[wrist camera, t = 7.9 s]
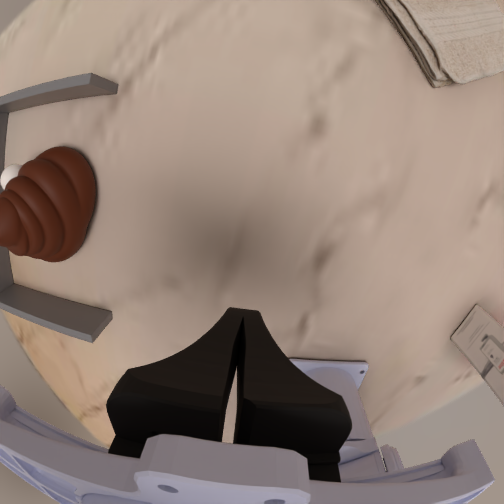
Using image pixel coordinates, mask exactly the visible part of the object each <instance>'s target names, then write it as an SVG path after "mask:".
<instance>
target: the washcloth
mask: <svg viewBox="0 0 504 504" xmlns="http://www.w3.org/2000/svg"><path fill="white" fill-rule="evenodd" d="M376 2H377V3H378V5H379V6H380V8H381V9H382V10H383V11H384V13H385V14H386V15H387V17H388V18H389V20H390V21H391V22H392V23H393V25H394V26H395V27H396V29H397V30H398V31H399V32H400V34H401V35H402V36H403V38H404V39H405V41H406V43H407V44H408V46H409V48H410V49H411V51H412V53H413V55H414V56H415V58H416V59H417V61H418V63H419V65H420V66H421V68H422V70H423V72H424V73H425V75H426V77H427V79H428V80H429V82H430V83H431V85H432V86H433V87H436V88H437V87H443V86H445V85H450V84H451V83H452V82H456V83H458V84H465V83H468V82H471V81H473V80H477V79H480V78H484V77H490V76H492V75H495V74H497V73H499V72H502V71H504V14H503V13H502V12H501V10H500V8H499V5H498V4H497V2H496V0H376Z"/></svg>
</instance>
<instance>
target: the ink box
mask: <svg viewBox="0 0 504 504" xmlns="http://www.w3.org/2000/svg"><path fill="white" fill-rule="evenodd" d="M451 341H452V342H453V343H454V344H455V345H456V347H457V348H458V349H459V350H460V351H461V352H462V353H463V355H464V356H465V357H466V358H467V359H468V361H469V362H470V363H471V364H472V365H473V367H474V368H475V369H476V370H477V371H478V373H479V374H480V375H481V377H482V378H483V379H484V380H485V382H486V383H487V384H488V386H489V387H490V388H491V390H492V391H493V392H494V394H495V395H496V396H497V398H498V399H499V400H500V402H501V403H502V405H503V406H504V327H503V326H502V325H501V324H500V323H498V322H497V321H496V320H495V319H494V318H493V317H492V316H491V315H489V314H488V313H487V312H486V311H485V310H484V309H482V308H481V307H480V306H479V305H478V304H476V305H475V307H474V308H473V310H472V311H471V312H470V314H469V315H468V316H467V317H466V319H465V320H464V321H463V323H462V324H461V325H460V327H459V328H458V329H457V330H456V332H455V333H454V334H453V335H452V337H451Z"/></svg>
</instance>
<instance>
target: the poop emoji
mask: <svg viewBox="0 0 504 504" xmlns="http://www.w3.org/2000/svg"><path fill="white" fill-rule="evenodd" d="M0 182H1V186H2V188H3V189H4V191H3V192H1V194H0V246H2V247H7V249H8V250H10V251H11V252H12V253H13V254H15V255H18V256H29V257H32V258H36V259H42V260H44V261H48V262H60V261H64V260H66V259H68V258H70V257H71V256H73V255H74V254H75V253H76V252H77V251H78V250H79V248H80V247H81V245H82V243H83V241H84V238H85V235H86V230H87V226H88V224H89V221H90V219H91V216H92V213H93V209H94V204H95V193H96V192H95V181H94V176H93V173H92V170H91V168H90V166H89V164H88V162H87V161H86V160H85V158H84V157H83V156H82V155H81V154H80V153H78V152H77V151H75V150H74V149H71V148H68V147H54V148H50V149H48V150H46V151H44V152H43V153H41V154H40V155H39V156H37V157H36V158H35V159H34V160H31V161H28V162H27V163H25V164H24V165H23V166H22V165H19V164H13V165H10V166H8V167H7V168H6V169H5V170H4V171H3V172H2V175H1V178H0Z"/></svg>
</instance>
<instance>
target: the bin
mask: <svg viewBox="0 0 504 504" xmlns="http://www.w3.org/2000/svg"><path fill="white" fill-rule="evenodd" d="M117 88H118V84H116V83H114V82H112V81H109V80H107V79H105V78H102V77H100V76H98V75H95V74H93V73H88V74H82V75H77V76H72V77H67V78H63V79H58V80H54V81H50V82H46V83H42V84H39V85H35V86H32V87H28V88H25V89H22V90H19V91H16V92H13V93H10V94H7V95H4V96H1V97H0V178H1V175H2V172H3V171H4V155H5V141H6V130H7V122H8V115H9V113H10V112H14V111H17V110H21V109H25V108H29V107H34V106H38V105H43V104H48V103H53V102H58V101H64V100H70V99H77V98H84V97H91V96H100V95H110V94H117ZM3 191H4V189H3V188H2V186H1V182H0V194H1V192H3ZM0 308H1V309H3V310H5V311H7V312H10V313H12V314H14V315H16V316H19V317H21V318H24V319H26V320H28V321H31V322H33V323H36V324H38V325H41V326H44V327H46V328H49V329H52V330H54V331H57V332H60V333H63V334H66V335H69V336H72V337H75V338H78V339H81V340H84V341H87V342H90V343H93V342H94V341H95V340H96V338H97V337H98V336H99V335H100V333H101V332H102V331H103V330H104V329H105V327H106V326H107V325H108V324H109V323H110V321H111V320H112V311H107V310H103V309H99V308H95V307H91V306H87V305H84V304H80V303H76V302H73V301H69V300H65V299H62V298H58V297H55V296H52V295H48V294H45V293H42V292H38V291H35V290H32V289H29V288H26V287H23V286H20V285H17V284H14V281H13V276H12V271H11V265H10V258H9V252H8V249H7V247H2V246H0Z"/></svg>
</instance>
